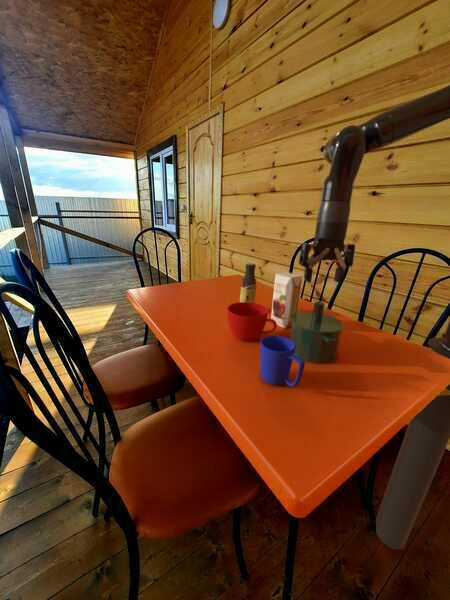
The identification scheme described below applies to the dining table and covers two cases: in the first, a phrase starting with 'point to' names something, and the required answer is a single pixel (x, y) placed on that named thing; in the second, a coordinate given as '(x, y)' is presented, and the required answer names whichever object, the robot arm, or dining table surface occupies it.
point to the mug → (278, 360)
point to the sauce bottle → (248, 284)
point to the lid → (317, 320)
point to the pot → (314, 345)
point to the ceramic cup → (248, 320)
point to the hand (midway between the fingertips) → (322, 281)
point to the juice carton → (285, 298)
